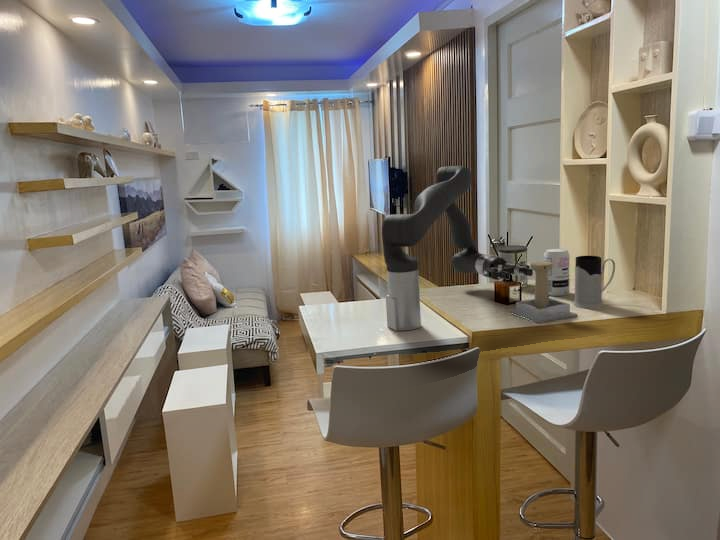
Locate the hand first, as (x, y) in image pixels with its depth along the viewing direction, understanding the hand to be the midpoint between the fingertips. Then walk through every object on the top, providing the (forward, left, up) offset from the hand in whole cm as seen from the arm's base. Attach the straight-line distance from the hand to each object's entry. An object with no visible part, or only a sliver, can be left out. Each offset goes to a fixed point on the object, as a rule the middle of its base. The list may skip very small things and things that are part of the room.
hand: (520, 274), depth 189 cm
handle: (0, -11, -10) cm, 15 cm away
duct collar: (0, -11, -10) cm, 15 cm away
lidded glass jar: (+16, +26, -11) cm, 33 cm away
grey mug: (+21, -10, -11) cm, 25 cm away
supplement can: (+20, +7, -11) cm, 24 cm away
